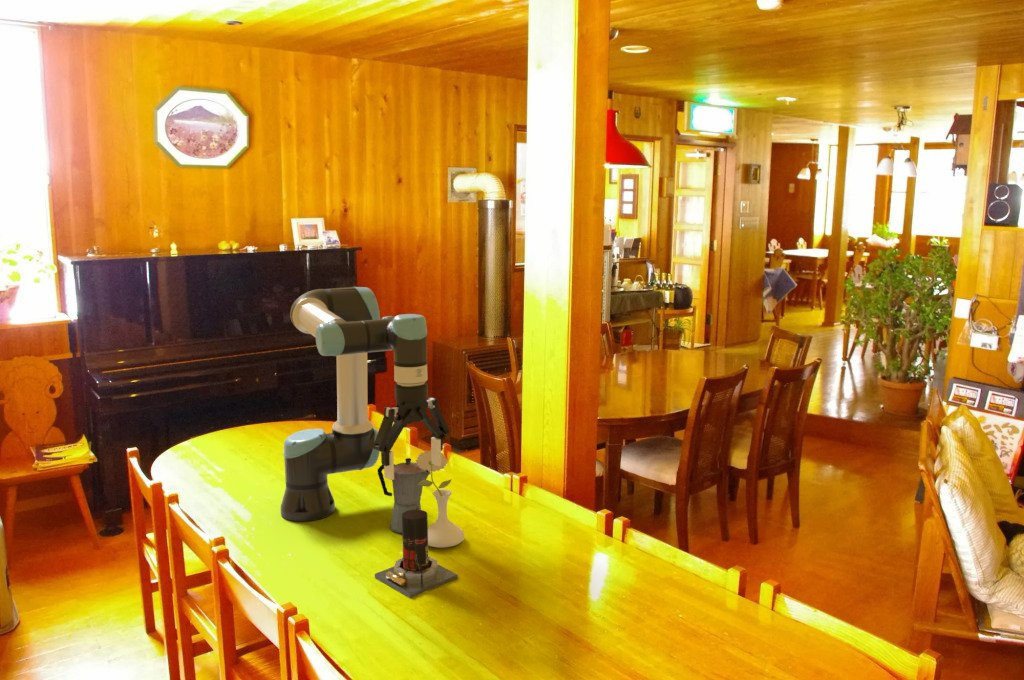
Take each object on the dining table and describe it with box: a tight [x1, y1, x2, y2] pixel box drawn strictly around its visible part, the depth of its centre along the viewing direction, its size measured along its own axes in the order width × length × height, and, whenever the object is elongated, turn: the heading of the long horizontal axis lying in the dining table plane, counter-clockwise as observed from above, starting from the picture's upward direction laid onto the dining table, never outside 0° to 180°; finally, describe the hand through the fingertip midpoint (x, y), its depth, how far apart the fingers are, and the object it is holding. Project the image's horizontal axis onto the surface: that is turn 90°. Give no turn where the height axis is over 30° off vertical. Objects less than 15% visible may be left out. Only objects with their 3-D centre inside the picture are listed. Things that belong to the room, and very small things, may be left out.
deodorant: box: [401, 509, 429, 571], centre depth 196 cm, size 6×6×15 cm
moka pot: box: [377, 457, 431, 534], centre depth 225 cm, size 10×15×20 cm, turn 78°
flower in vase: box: [415, 449, 466, 549], centre depth 216 cm, size 13×11×25 cm
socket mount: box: [374, 555, 459, 599], centre depth 198 cm, size 14×14×4 cm
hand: (413, 471), depth 193 cm, fingers open, 13 cm apart
